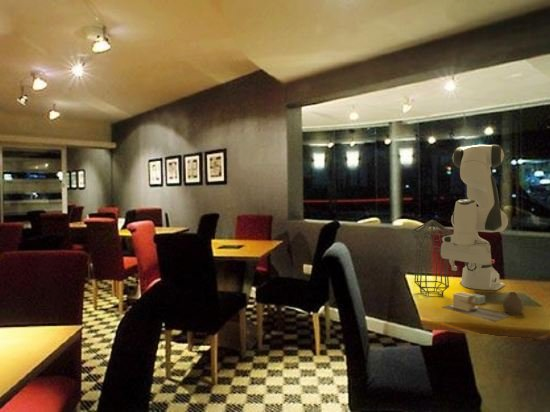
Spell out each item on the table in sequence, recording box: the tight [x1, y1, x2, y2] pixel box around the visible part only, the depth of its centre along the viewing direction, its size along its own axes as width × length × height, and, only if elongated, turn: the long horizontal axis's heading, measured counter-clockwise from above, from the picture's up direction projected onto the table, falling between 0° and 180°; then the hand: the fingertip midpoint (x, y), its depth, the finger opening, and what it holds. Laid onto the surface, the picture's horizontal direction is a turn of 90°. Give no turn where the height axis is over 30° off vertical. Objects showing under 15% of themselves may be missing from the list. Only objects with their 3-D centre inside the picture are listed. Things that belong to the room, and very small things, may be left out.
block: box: [452, 291, 476, 309], centre depth 169 cm, size 6×6×5 cm
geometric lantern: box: [411, 219, 454, 298], centre depth 192 cm, size 16×16×35 cm
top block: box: [472, 293, 486, 305], centre depth 176 cm, size 5×5×4 cm
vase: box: [502, 291, 524, 315], centre depth 162 cm, size 7×7×9 cm
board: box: [441, 303, 514, 323], centre depth 164 cm, size 13×22×1 cm, turn 34°
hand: (464, 272), depth 169 cm, fingers open, 8 cm apart
